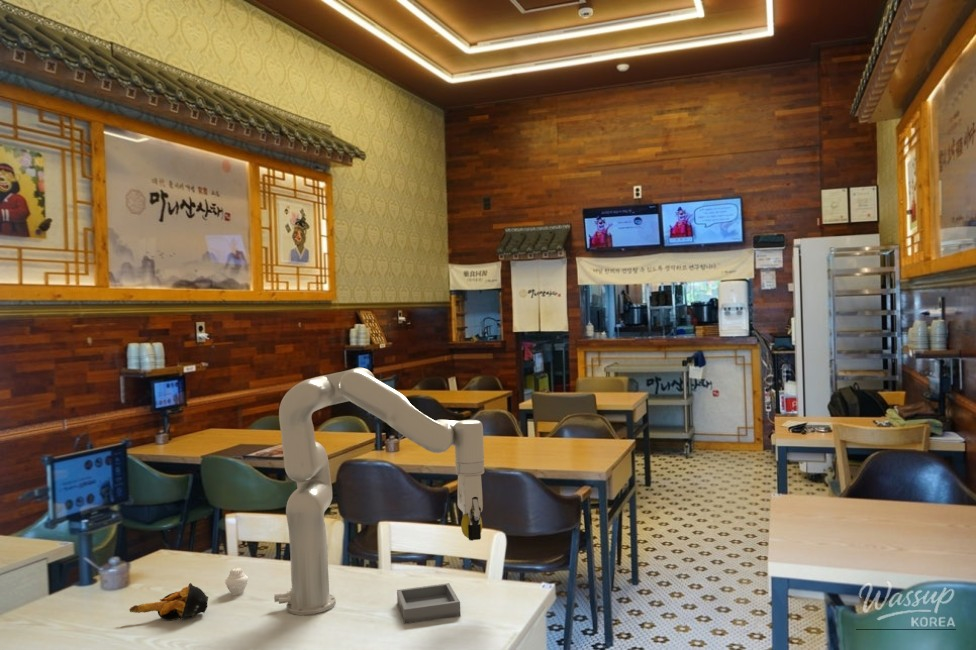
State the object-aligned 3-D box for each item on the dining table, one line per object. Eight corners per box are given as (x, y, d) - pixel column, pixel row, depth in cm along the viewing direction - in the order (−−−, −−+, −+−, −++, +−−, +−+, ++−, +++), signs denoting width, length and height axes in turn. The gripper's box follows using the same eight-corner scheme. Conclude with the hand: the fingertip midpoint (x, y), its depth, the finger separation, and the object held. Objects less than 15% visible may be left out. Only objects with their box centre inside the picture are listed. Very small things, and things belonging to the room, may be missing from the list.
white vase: (252, 591, 207) (251, 567, 207) (232, 598, 202) (231, 573, 202) (241, 587, 211) (240, 562, 211) (221, 593, 206) (220, 568, 206)
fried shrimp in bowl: (210, 603, 187) (135, 592, 181) (198, 636, 190) (124, 627, 184) (214, 578, 195) (142, 567, 189) (202, 611, 198) (131, 601, 192)
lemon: (480, 544, 190) (479, 513, 190) (459, 543, 191) (458, 512, 191) (484, 537, 196) (483, 507, 196) (464, 537, 197) (463, 507, 197)
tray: (404, 623, 180) (404, 609, 180) (397, 603, 194) (396, 589, 194) (460, 615, 183) (460, 601, 183) (449, 596, 197) (449, 583, 197)
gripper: (449, 462, 201) (451, 529, 201) (462, 475, 184) (465, 547, 184) (476, 460, 203) (478, 526, 203) (491, 472, 186) (494, 544, 186)
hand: (471, 535), depth 194 cm, fingers closed on lemon, 5 cm apart
